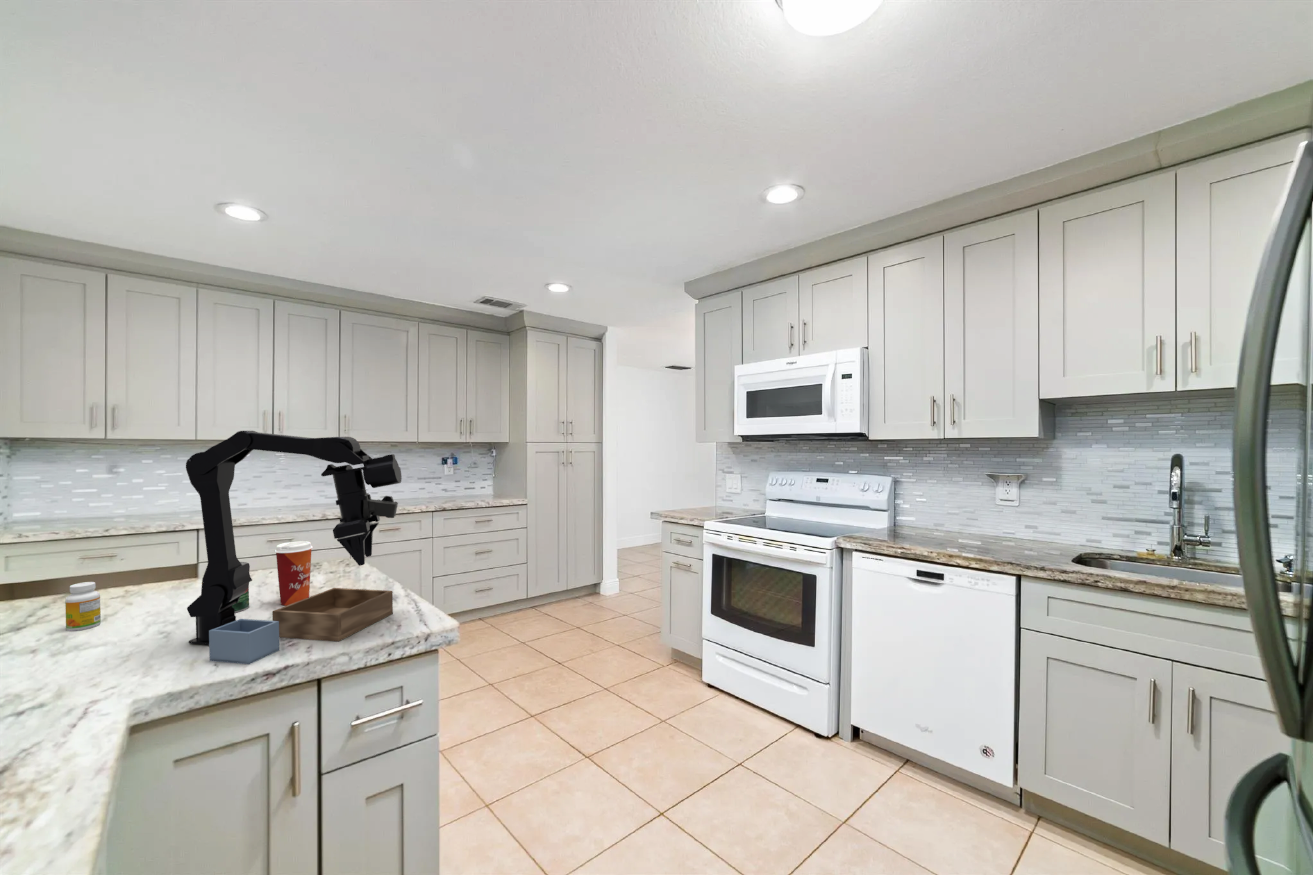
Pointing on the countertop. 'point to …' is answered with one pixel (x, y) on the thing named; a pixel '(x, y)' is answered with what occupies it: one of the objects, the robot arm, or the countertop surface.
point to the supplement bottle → (82, 607)
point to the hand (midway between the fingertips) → (365, 560)
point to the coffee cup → (293, 571)
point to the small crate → (244, 641)
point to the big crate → (333, 614)
